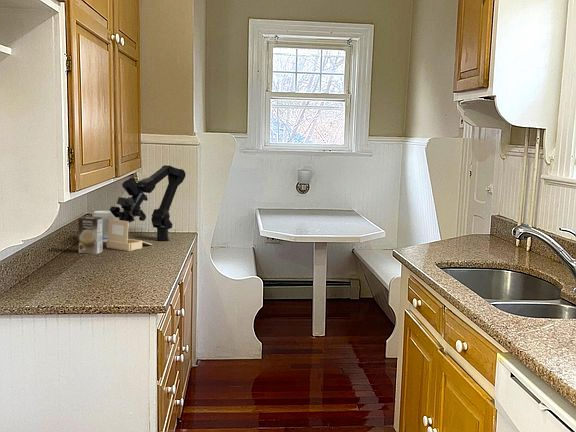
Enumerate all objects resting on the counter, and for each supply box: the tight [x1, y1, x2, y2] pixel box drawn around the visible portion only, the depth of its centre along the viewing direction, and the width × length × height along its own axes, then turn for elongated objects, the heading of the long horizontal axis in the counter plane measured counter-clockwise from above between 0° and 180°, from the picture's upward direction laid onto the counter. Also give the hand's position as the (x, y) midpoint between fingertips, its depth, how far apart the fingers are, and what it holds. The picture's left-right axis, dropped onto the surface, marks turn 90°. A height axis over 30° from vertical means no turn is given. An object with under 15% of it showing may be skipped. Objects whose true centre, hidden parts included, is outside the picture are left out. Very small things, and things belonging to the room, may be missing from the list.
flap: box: [107, 218, 130, 243], centre depth 280 cm, size 10×12×1 cm
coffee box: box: [78, 215, 103, 255], centre depth 272 cm, size 9×6×16 cm
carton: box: [106, 238, 154, 252], centre depth 288 cm, size 18×15×4 cm
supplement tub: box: [92, 210, 114, 243], centre depth 300 cm, size 10×10×15 cm
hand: (118, 227), depth 280 cm, fingers closed, pressing on flap
